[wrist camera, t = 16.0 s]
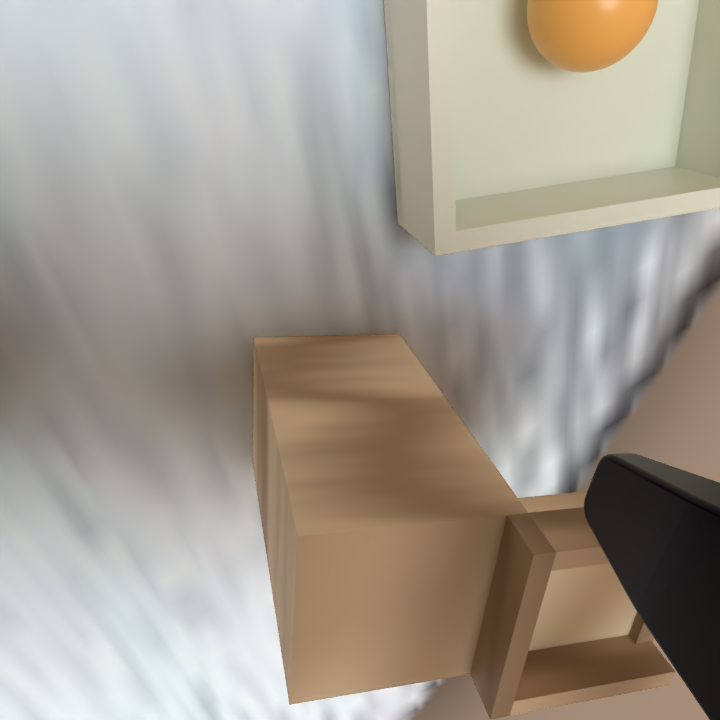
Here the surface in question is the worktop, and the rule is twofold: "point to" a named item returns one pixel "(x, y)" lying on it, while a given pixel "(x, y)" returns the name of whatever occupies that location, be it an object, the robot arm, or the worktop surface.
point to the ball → (588, 30)
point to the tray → (546, 125)
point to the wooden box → (423, 543)
